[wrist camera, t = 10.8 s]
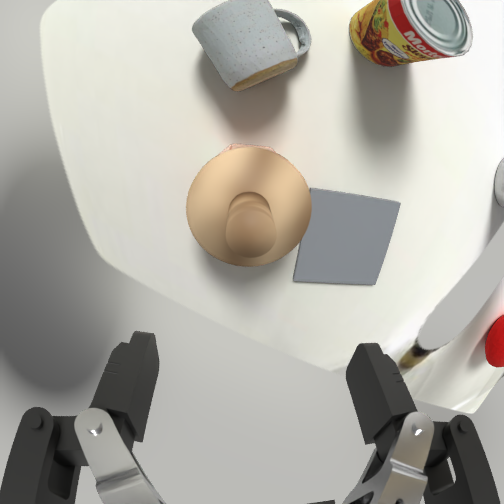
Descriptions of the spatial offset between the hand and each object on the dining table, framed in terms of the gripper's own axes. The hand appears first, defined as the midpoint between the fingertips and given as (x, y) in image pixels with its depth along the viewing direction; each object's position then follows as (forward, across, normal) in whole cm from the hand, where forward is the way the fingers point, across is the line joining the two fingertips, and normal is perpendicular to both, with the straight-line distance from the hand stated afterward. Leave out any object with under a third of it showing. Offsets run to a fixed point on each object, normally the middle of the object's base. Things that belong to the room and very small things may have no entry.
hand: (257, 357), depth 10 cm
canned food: (+24, -13, -21) cm, 34 cm away
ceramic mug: (+24, +1, -16) cm, 29 cm away
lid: (+17, 0, 0) cm, 17 cm away
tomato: (+24, -63, +23) cm, 71 cm away
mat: (+23, -13, +5) cm, 27 cm away
